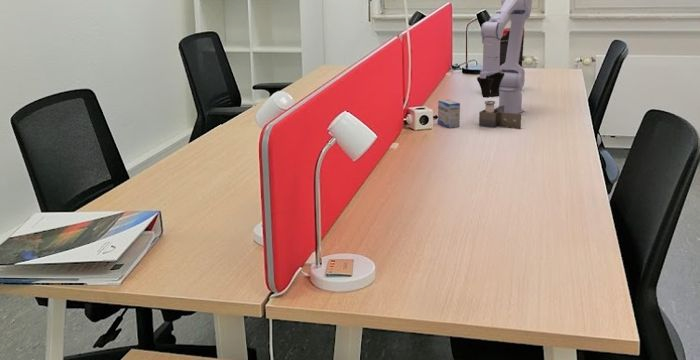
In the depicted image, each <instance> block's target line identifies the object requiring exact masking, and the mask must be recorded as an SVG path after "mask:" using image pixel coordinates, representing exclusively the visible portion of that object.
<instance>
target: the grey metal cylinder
mask: <svg viewBox="0 0 700 360" xmlns="http://www.w3.org/2000/svg"><path fill="white" fill-rule="evenodd" d="M484 104H485V109H484V110H485V112H488V113H494V109H495V104H496V101H495V100H485V101H484Z"/></svg>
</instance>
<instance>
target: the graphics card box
mask: <svg viewBox="0 0 700 360" xmlns="http://www.w3.org/2000/svg"><path fill="white" fill-rule="evenodd" d="M509 34H510V27H506V28H505V27H504V32H503V36H502V38H501V39H500V66H501V65H502V64H504V63H505V61H506V54H507V47H508V41H509ZM524 39H525V28H524V29H523V36H522V43H521V49H520V56H519V63H518V64H519V65H520V66H521V67H522V68H523V58H524V57H523V56H524V41H525V40H524ZM507 72H509V71H507ZM517 73H518V72H517ZM499 92H500V90H499V91H498V94H493V93H491V90H490V96H489V97H494V96H499Z"/></svg>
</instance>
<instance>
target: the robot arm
mask: <svg viewBox="0 0 700 360" xmlns="http://www.w3.org/2000/svg"><path fill="white" fill-rule="evenodd" d="M532 6H533V0H501V6H500V9H497V10H496V11H495V12H494V13H493V14H492V16H491V17H490V18H489V20H488V21H485V22H483V23H482V24H481V29H480V35H481V42H482V43H481V44H483V47H482V48H483V49H482V50H483V51H482V68H479V71H480V72H479V76H477V77H476V80H477V82H478V85H479V87H480V90H481V95H482V98H483V99H484V98H487V99H488V98H489V99H490V97H491V96H490V90H491V93H493V94H498V91H499V90H500V92H499V95H498V107H500V106H502V105H504V112H505V113H515V114H522V112H524V111H525V110H524V109H522V108H523V107H522V105H523V103H522V101H523V94H522V91H521V90H522V89H523V88H524V86H525V80H526V79H525V73H526V72H525V69H524V68H523V66H522V67H521V66H520V65H519V64H518V63H519V56H520V49H521V43H522V36H523V29H524V30H525V28H524V27H525V23H526V19H528V18H530V16H531V12H532ZM510 21H511V22H510ZM509 22H510V27H509V28H510V34H509V41H508V47H507V54H506V61H505V63H504V64H502V65H501V66H500V39H501V38H502V36H503V32H504V29H505V27H506V26H507V24H508V23H509ZM507 71H509V72H507ZM517 72H518V73H517Z"/></svg>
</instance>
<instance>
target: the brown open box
mask: <svg viewBox="0 0 700 360" xmlns="http://www.w3.org/2000/svg"><path fill="white" fill-rule="evenodd" d="M478 116H479V117H478V119H483V120H492V121H496V120H498V127H501V128H512V129H518V130H520V129H521V128H522V126H521V125H522V113H519V114H515V113H505V112H503V110H494V113H488V112H485V109H483V110H482V111H479V114H478Z"/></svg>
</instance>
